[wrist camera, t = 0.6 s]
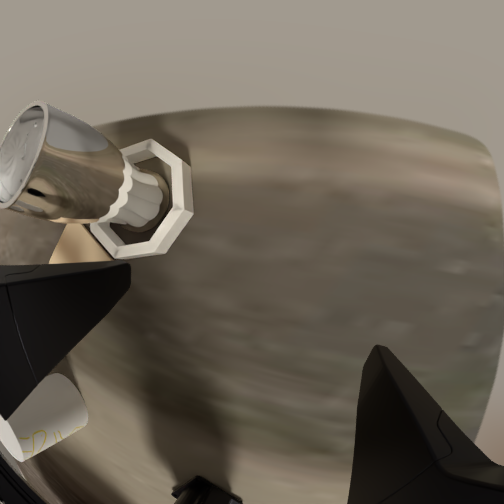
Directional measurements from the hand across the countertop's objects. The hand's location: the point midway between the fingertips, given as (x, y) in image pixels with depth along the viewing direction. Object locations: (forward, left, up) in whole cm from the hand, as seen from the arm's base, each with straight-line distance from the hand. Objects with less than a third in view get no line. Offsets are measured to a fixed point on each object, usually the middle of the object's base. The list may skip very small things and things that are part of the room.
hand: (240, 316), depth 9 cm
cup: (-30, +11, -14) cm, 35 cm away
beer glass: (-2, +15, -14) cm, 20 cm away
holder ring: (-2, +15, -14) cm, 20 cm away
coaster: (-13, +18, -14) cm, 26 cm away
